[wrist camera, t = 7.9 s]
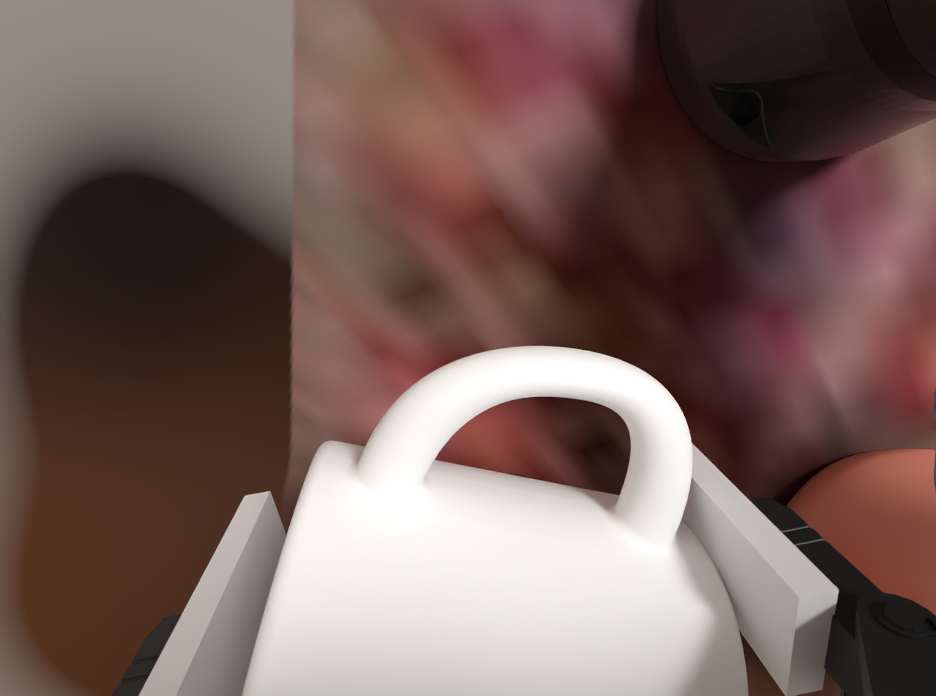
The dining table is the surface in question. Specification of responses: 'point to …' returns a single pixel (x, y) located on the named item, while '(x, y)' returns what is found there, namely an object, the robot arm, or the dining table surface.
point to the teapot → (879, 518)
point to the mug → (498, 557)
